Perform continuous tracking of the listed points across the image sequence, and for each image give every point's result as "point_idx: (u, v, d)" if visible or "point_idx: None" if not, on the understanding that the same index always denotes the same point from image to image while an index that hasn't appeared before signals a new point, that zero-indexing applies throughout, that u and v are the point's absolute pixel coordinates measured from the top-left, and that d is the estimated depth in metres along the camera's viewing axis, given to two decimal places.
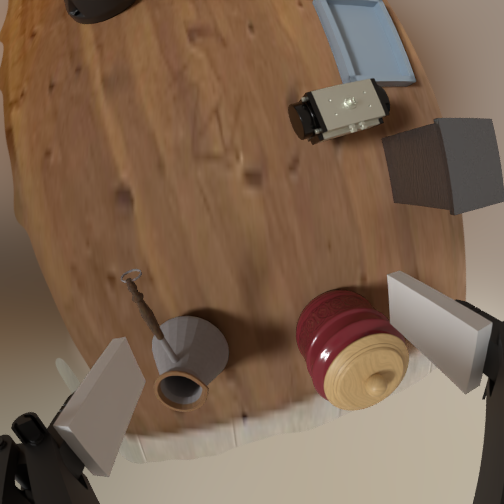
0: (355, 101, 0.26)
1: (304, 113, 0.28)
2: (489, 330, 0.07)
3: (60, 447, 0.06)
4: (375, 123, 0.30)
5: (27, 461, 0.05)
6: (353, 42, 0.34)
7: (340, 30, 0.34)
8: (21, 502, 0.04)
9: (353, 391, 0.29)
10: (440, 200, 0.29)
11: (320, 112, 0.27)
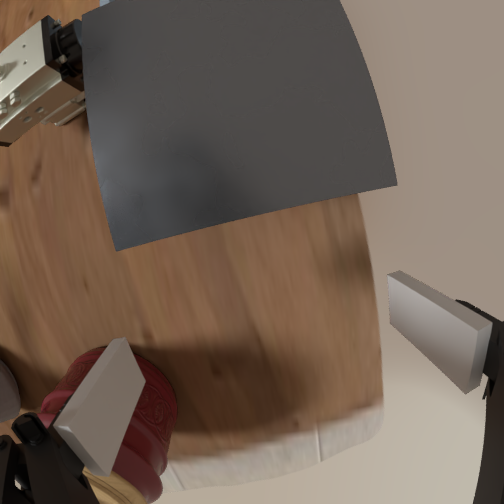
0: None
1: None
2: (489, 330, 0.07)
3: (60, 447, 0.06)
4: (54, 83, 0.13)
5: (27, 461, 0.05)
6: None
7: None
8: (21, 502, 0.04)
9: None
10: None
11: None
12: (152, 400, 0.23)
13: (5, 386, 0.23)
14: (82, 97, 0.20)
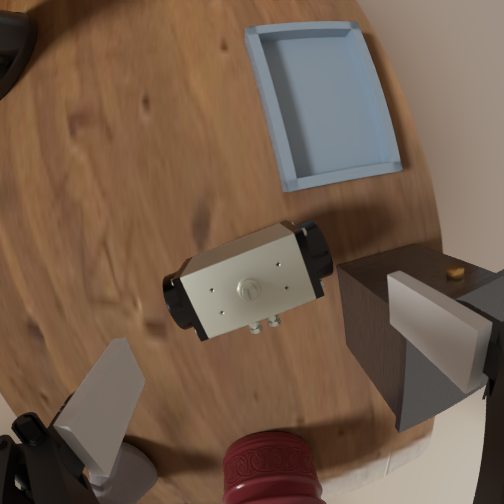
0: (253, 296, 0.18)
1: (176, 306, 0.20)
2: (489, 330, 0.07)
3: (60, 447, 0.06)
4: None
5: (27, 461, 0.05)
6: (304, 107, 0.26)
7: (283, 88, 0.25)
8: (21, 502, 0.04)
9: None
10: (390, 399, 0.20)
11: (196, 312, 0.19)
12: (311, 463, 0.30)
13: (150, 470, 0.31)
14: None
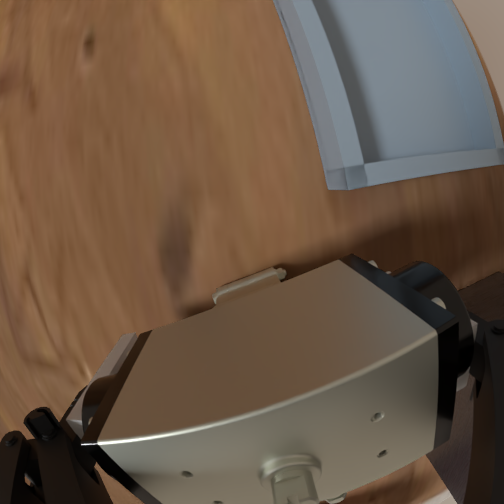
0: None
1: None
2: (474, 331, 0.07)
3: (73, 442, 0.07)
4: None
5: (38, 456, 0.05)
6: (360, 46, 0.12)
7: (323, 13, 0.12)
8: (30, 499, 0.04)
9: None
10: None
11: (155, 497, 0.05)
12: None
13: None
14: None
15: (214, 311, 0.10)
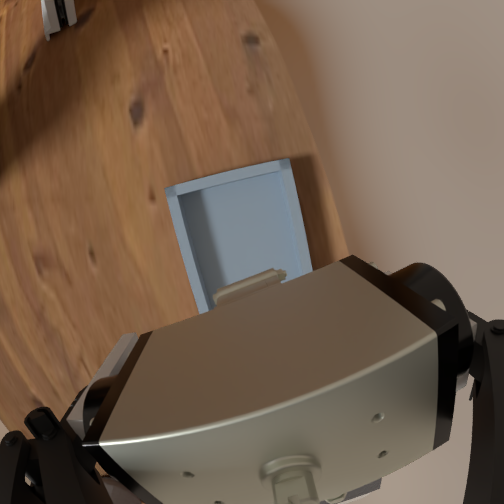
0: None
1: None
2: (474, 331, 0.07)
3: (73, 442, 0.07)
4: None
5: (39, 456, 0.05)
6: (227, 265, 0.30)
7: (208, 246, 0.30)
8: (31, 499, 0.04)
9: None
10: None
11: (156, 498, 0.05)
12: None
13: (135, 500, 0.36)
14: None
15: (215, 312, 0.10)
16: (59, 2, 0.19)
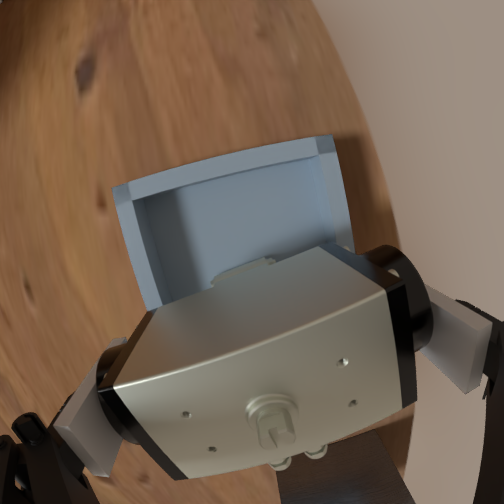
0: (284, 440, 0.06)
1: None
2: (489, 330, 0.07)
3: (60, 447, 0.06)
4: None
5: (27, 461, 0.05)
6: None
7: (191, 285, 0.18)
8: (21, 502, 0.04)
9: None
10: None
11: (158, 445, 0.07)
12: None
13: None
14: None
15: (212, 289, 0.12)
16: None
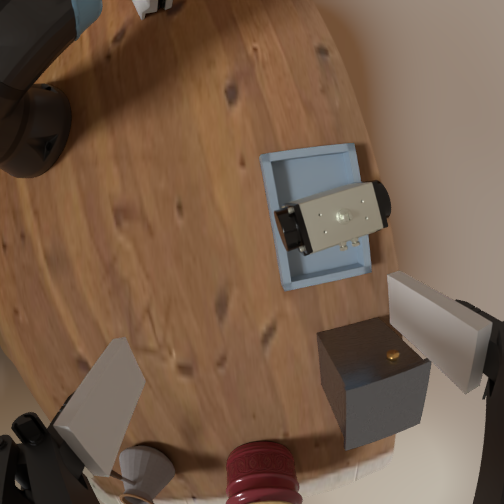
0: (349, 218, 0.25)
1: (289, 228, 0.27)
2: (489, 330, 0.07)
3: (60, 447, 0.06)
4: (371, 232, 0.29)
5: (27, 461, 0.05)
6: None
7: None
8: (21, 502, 0.04)
9: None
10: (342, 428, 0.31)
11: (307, 230, 0.27)
12: (292, 465, 0.41)
13: (170, 468, 0.42)
14: None
15: (311, 195, 0.32)
16: None
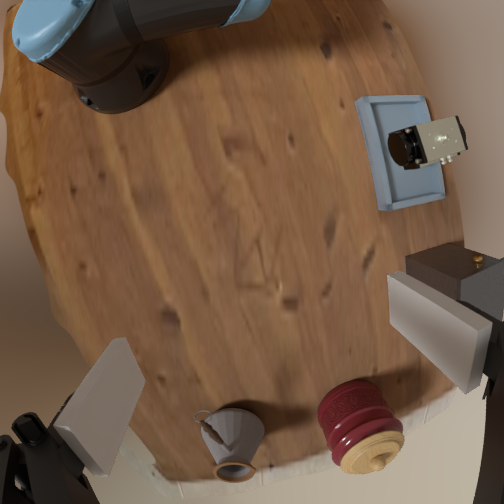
0: (448, 138, 0.27)
1: (409, 144, 0.29)
2: (489, 330, 0.07)
3: (60, 447, 0.06)
4: (454, 155, 0.31)
5: (27, 461, 0.05)
6: None
7: (381, 141, 0.39)
8: (21, 502, 0.04)
9: (361, 466, 0.34)
10: None
11: (422, 145, 0.28)
12: None
13: (262, 427, 0.45)
14: None
15: None
16: None
